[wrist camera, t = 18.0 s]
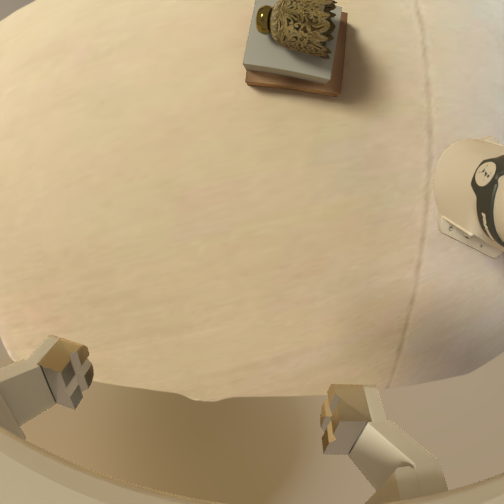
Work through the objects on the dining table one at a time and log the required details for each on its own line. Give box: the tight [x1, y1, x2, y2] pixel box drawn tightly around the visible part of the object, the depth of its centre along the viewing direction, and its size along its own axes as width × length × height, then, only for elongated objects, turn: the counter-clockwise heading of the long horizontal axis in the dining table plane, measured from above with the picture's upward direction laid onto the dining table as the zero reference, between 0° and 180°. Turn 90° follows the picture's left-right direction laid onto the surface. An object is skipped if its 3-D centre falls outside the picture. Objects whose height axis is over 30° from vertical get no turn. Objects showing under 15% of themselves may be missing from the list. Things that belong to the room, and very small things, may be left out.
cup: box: [256, 0, 337, 59], centre depth 27 cm, size 8×7×8 cm
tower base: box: [245, 12, 347, 97], centre depth 35 cm, size 12×12×4 cm
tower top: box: [243, 0, 342, 84], centre depth 31 cm, size 10×10×4 cm
